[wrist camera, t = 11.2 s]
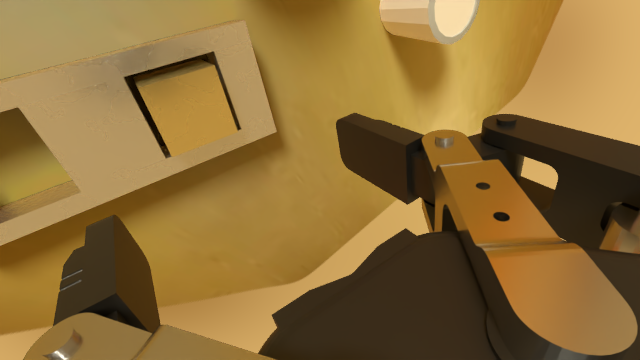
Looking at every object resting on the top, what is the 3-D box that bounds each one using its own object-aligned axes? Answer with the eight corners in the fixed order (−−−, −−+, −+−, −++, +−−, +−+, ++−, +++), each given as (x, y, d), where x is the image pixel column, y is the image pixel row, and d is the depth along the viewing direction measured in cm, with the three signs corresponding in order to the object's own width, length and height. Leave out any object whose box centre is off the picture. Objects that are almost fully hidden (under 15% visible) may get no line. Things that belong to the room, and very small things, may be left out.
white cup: (365, -10, 30) (421, -18, 25) (414, -48, 31) (477, -62, 26) (386, 54, 34) (438, 60, 29) (429, 19, 35) (485, 18, 30)
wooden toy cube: (163, 137, 26) (172, 157, 22) (133, 76, 23) (137, 87, 19) (220, 116, 28) (238, 132, 24) (198, 58, 25) (214, 65, 21)
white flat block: (-50, 247, 21) (-70, 274, 19) (-190, 128, 17) (-238, 145, 14) (263, 123, 30) (276, 131, 28) (232, 20, 25) (244, 20, 23)
